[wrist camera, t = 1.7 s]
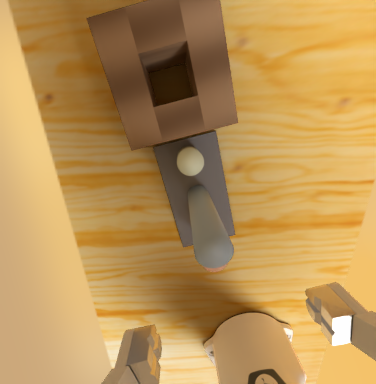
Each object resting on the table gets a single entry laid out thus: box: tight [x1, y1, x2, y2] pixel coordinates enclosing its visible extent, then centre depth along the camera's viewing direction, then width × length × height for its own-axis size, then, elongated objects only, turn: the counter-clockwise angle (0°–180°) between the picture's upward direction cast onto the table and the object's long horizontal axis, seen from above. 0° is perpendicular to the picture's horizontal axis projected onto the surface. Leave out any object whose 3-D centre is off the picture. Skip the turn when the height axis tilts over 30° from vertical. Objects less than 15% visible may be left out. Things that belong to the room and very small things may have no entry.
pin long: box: [188, 185, 234, 268], centre depth 21 cm, size 3×3×14 cm
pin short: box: [177, 145, 204, 176], centre depth 24 cm, size 3×3×5 cm
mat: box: [153, 131, 235, 247], centre depth 28 cm, size 17×9×1 cm, turn 14°
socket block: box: [87, 0, 238, 150], centre depth 21 cm, size 12×12×6 cm
